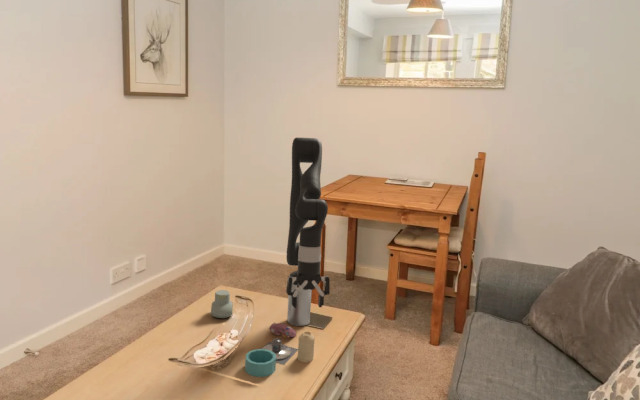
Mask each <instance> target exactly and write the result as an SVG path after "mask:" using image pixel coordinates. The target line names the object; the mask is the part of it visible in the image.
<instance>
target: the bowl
mask: <svg viewBox="0 0 640 400" xmlns="http://www.w3.org/2000/svg"><path fill="white" fill-rule="evenodd" d="M244 357H245V361H244V363H245V364H244V365H245V366H244V370H245V372H246V373H247V374H248V375H249V376H252V377H256V378H264V377H268V376H270V375H273V374H274V373H275V372H276V369H277V368H276V366H277V365H276V364H277V363H276V354H275V353H273V352H272V351H270V350H266V349H262V348H257V349H253V350H250V351H248V352H247V353H246V354H245V356H244Z"/></svg>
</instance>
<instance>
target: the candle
mask: <svg viewBox="0 0 640 400" xmlns="http://www.w3.org/2000/svg"><path fill="white" fill-rule="evenodd" d="M297 346H298V347H297V349H298V351H297V359H298V361H299V362H302V363H310V362H312V361H313V360H314V354H315V336H314V334H312V333H311V332H310V331H304V332H302V333H301V334H300V335H299V336H298V345H297Z"/></svg>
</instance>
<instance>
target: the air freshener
mask: <svg viewBox="0 0 640 400" xmlns="http://www.w3.org/2000/svg"><path fill="white" fill-rule="evenodd" d="M230 294H231V293H230V291H229V290H227V289H226V290H225V289H220V290H216V291H215V293H214V301H212V302H211V306H210V315H211V316H213V317H214V318H217V319H226V318H229V317H231V316H232V315H233V311H234V310H233V307H234V303H233V302H232V301H231V300H230Z"/></svg>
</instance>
